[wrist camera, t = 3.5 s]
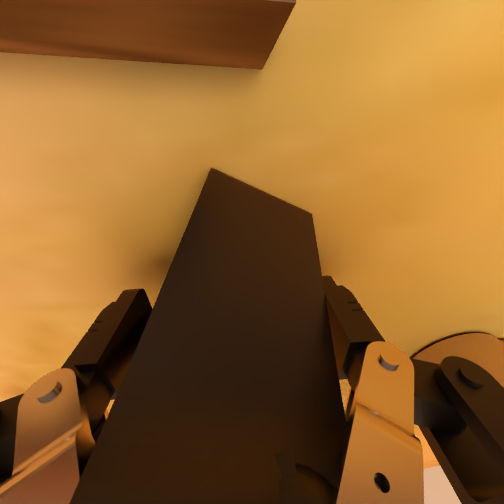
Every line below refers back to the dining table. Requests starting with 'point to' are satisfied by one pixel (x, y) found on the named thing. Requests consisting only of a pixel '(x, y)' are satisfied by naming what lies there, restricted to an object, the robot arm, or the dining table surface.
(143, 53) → the walnut block
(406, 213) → the dining table surface
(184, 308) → the phone stand
